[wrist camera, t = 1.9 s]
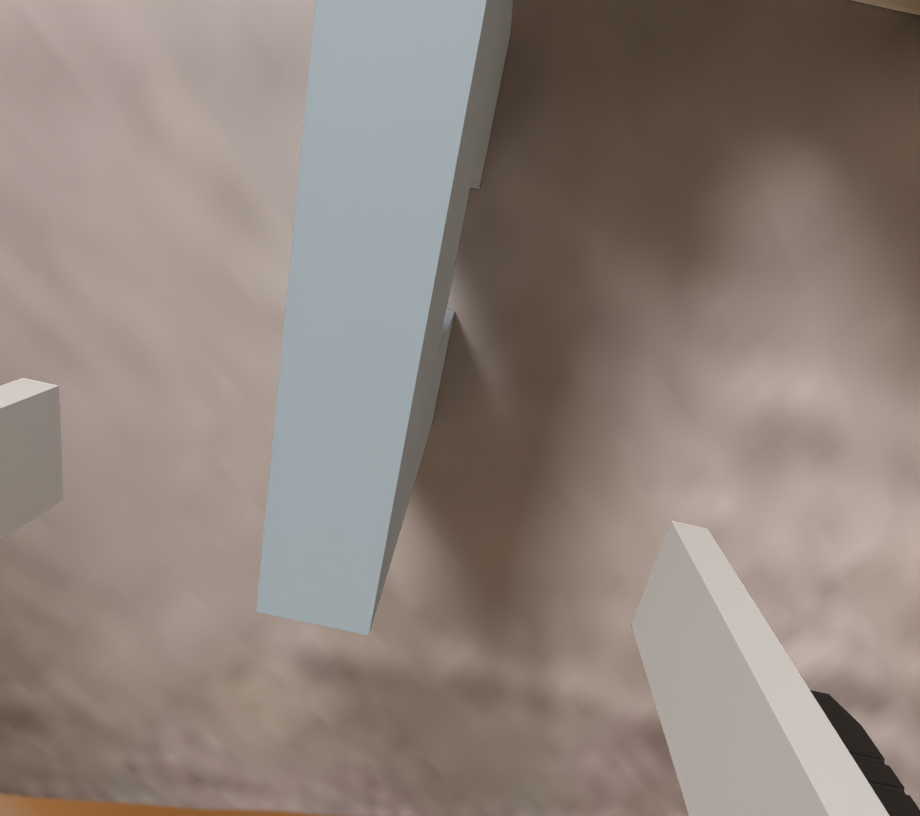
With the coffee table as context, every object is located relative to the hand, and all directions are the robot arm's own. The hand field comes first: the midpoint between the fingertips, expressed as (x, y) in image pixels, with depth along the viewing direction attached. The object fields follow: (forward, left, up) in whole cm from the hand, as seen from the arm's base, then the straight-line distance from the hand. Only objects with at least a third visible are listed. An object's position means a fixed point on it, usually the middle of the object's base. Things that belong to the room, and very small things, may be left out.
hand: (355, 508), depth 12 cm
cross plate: (0, +5, -11) cm, 12 cm away
